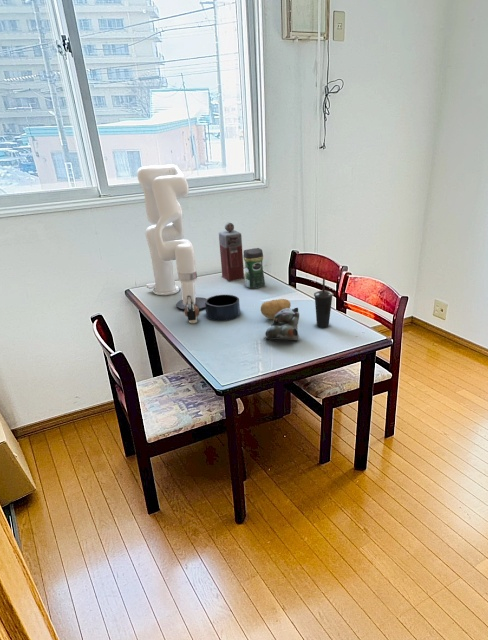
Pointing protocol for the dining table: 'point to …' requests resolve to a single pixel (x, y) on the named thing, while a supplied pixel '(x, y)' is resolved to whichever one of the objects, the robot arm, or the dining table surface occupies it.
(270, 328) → the lucky cat figurine
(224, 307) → the pan
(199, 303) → the pan lid
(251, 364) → the dining table surface
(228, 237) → the vintage gas pump model
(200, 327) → the dining table surface
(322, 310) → the drinking cup
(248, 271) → the coffee jar
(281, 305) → the potato
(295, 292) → the dining table surface
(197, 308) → the mushroom
